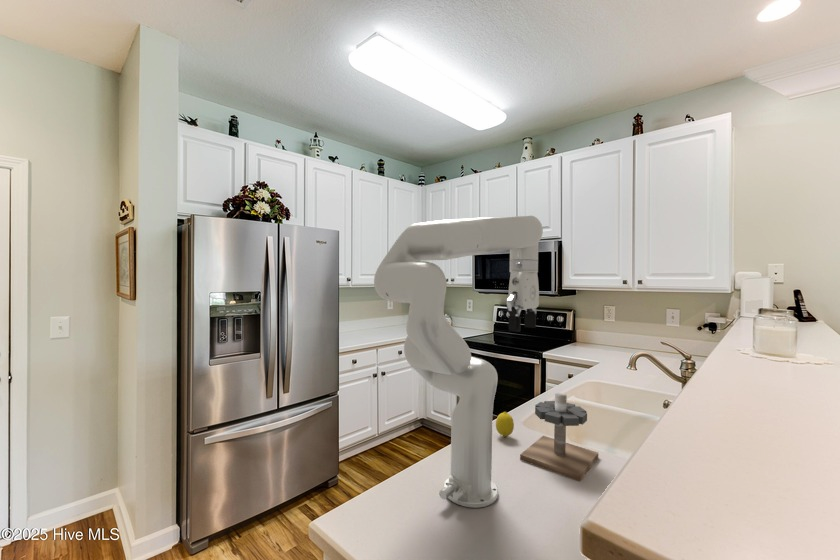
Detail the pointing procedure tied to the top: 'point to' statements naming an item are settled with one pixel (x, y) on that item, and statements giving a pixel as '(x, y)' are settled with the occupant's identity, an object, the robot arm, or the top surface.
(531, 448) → the pipe stand
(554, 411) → the grey flat ring
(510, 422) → the lemon
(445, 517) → the top surface
